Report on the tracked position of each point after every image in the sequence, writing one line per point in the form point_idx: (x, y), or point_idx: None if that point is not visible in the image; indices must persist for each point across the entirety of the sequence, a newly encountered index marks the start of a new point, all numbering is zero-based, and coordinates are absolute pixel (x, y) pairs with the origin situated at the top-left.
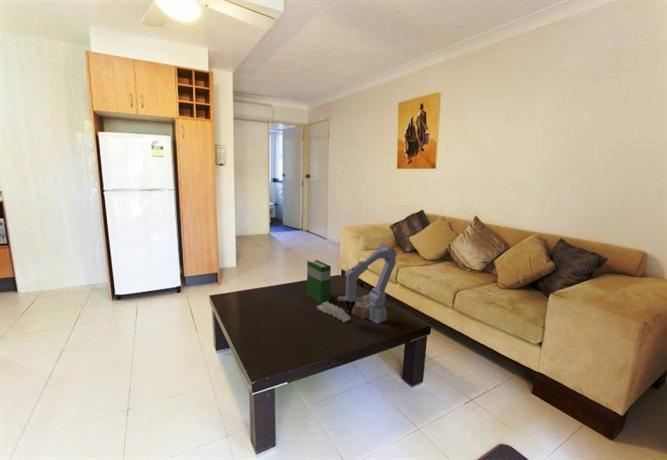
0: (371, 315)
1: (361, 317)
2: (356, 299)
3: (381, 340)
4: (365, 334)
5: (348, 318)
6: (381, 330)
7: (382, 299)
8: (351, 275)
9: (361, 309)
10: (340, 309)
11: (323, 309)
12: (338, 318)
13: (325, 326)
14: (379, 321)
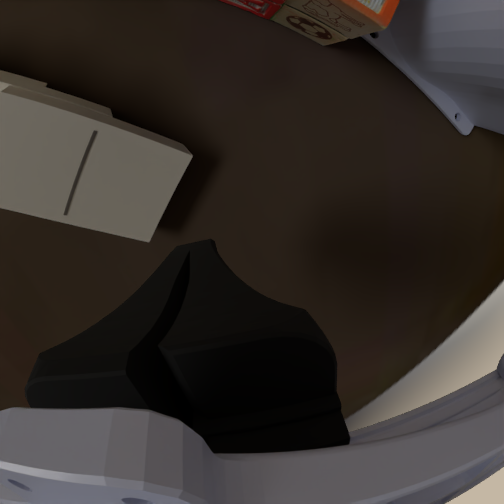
0: (440, 72)
1: (302, 34)
2: (395, 499)
3: (446, 338)
4: (369, 327)
5: (169, 179)
6: (471, 233)
7: None
8: None
9: (333, 10)
10: (8, 130)
11: None
12: None
13: (54, 335)
14: (481, 126)
